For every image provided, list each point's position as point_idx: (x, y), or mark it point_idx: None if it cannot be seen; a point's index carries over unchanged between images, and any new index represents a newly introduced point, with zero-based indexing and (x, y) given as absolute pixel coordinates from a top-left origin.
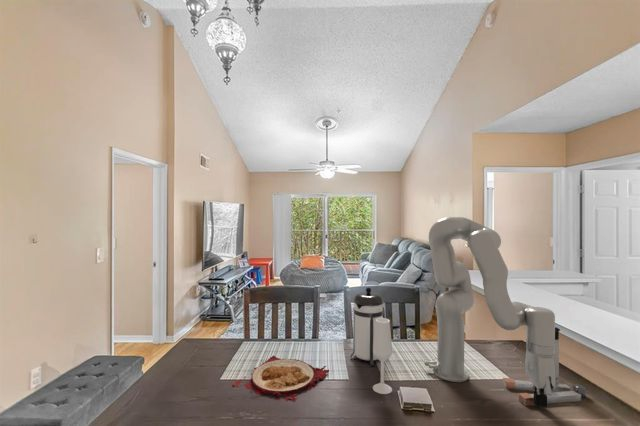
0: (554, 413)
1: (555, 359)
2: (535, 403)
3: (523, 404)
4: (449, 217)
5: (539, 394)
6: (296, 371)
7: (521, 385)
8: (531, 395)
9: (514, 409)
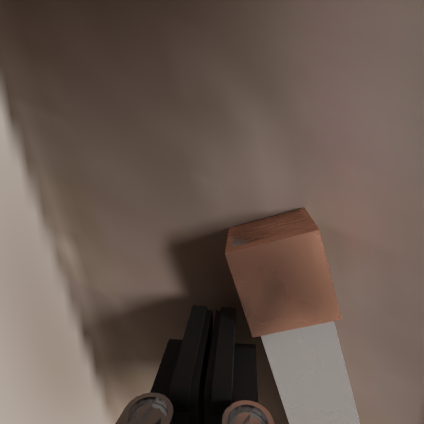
0: None
1: None
2: (200, 313)
3: (246, 223)
4: None
5: (128, 413)
6: None
7: None
8: (314, 340)
9: (152, 111)
